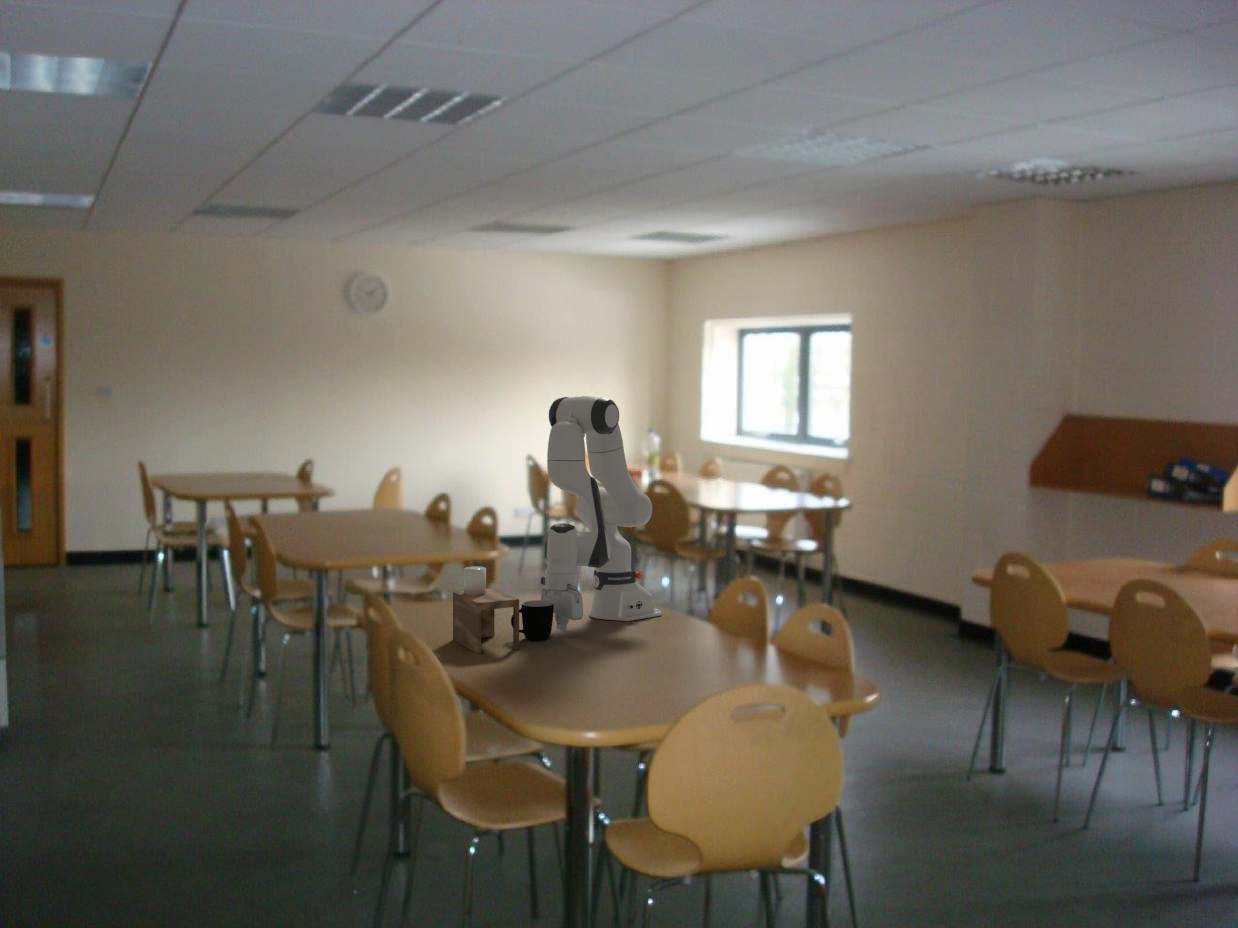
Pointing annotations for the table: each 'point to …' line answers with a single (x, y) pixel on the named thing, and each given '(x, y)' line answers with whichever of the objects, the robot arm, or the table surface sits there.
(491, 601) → the open wooden crate
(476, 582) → the white cylinder
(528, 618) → the mug
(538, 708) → the table surface
